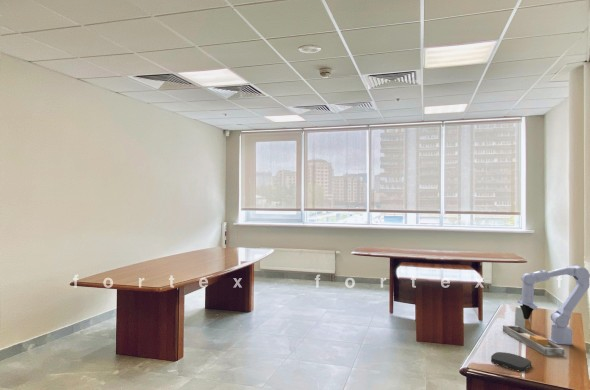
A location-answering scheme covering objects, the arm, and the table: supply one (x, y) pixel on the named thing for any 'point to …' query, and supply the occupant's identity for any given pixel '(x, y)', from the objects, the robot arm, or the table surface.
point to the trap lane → (524, 337)
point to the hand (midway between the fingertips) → (526, 318)
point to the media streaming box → (511, 361)
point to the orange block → (539, 340)
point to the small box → (522, 319)
